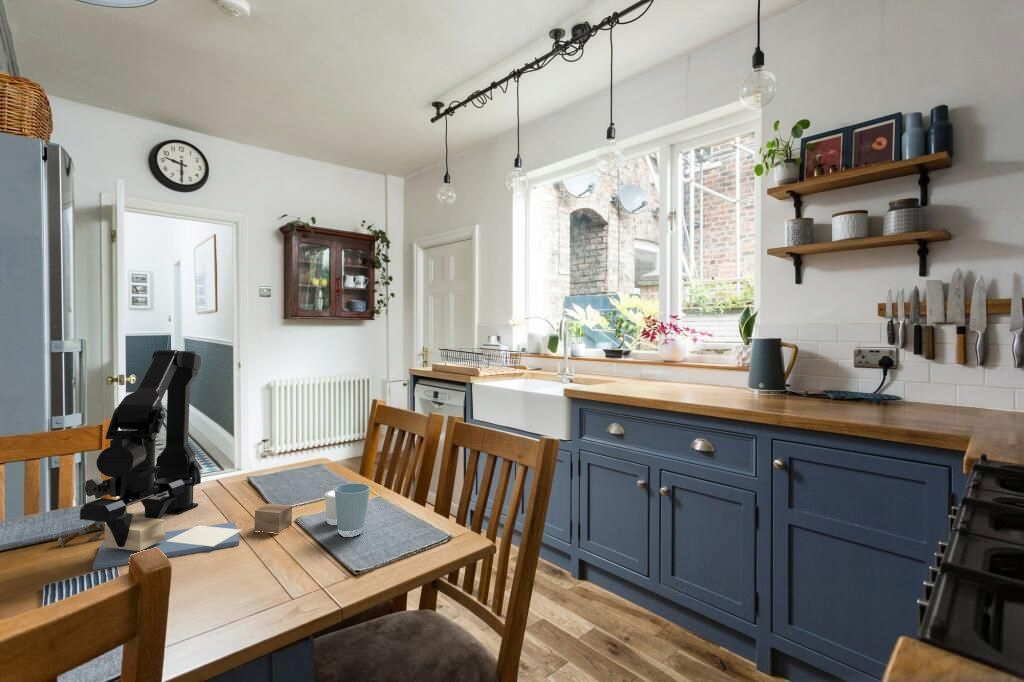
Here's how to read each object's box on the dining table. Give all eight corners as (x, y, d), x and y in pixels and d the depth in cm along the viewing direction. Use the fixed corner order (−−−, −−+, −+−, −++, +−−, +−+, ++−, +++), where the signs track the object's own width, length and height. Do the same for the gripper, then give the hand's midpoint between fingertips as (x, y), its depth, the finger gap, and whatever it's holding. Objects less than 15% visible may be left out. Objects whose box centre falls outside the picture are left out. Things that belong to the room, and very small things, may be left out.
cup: (350, 542, 110) (352, 495, 110) (325, 535, 113) (327, 489, 113) (375, 531, 117) (376, 486, 117) (350, 524, 120) (352, 481, 120)
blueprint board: (91, 572, 93) (92, 566, 93) (102, 544, 104) (102, 539, 104) (245, 546, 106) (245, 540, 106) (239, 523, 118) (239, 519, 118)
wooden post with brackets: (115, 533, 108) (104, 516, 107) (69, 557, 103) (57, 540, 102) (114, 531, 109) (104, 514, 108) (69, 554, 105) (58, 537, 103)
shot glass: (359, 519, 124) (360, 491, 124) (339, 528, 117) (340, 499, 117) (338, 514, 126) (339, 486, 126) (317, 523, 120) (318, 494, 120)
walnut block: (267, 524, 119) (268, 503, 119) (291, 526, 118) (292, 505, 118) (254, 532, 114) (254, 510, 114) (278, 535, 113) (279, 512, 113)
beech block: (131, 535, 105) (131, 516, 105) (165, 538, 104) (165, 519, 104) (104, 546, 99) (104, 526, 99) (139, 551, 98) (140, 530, 98)
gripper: (142, 450, 112) (140, 520, 112) (55, 472, 93) (52, 556, 94) (187, 453, 110) (185, 524, 110) (107, 477, 92) (105, 562, 92)
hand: (135, 540), depth 102 cm, fingers closed on beech block, 6 cm apart
